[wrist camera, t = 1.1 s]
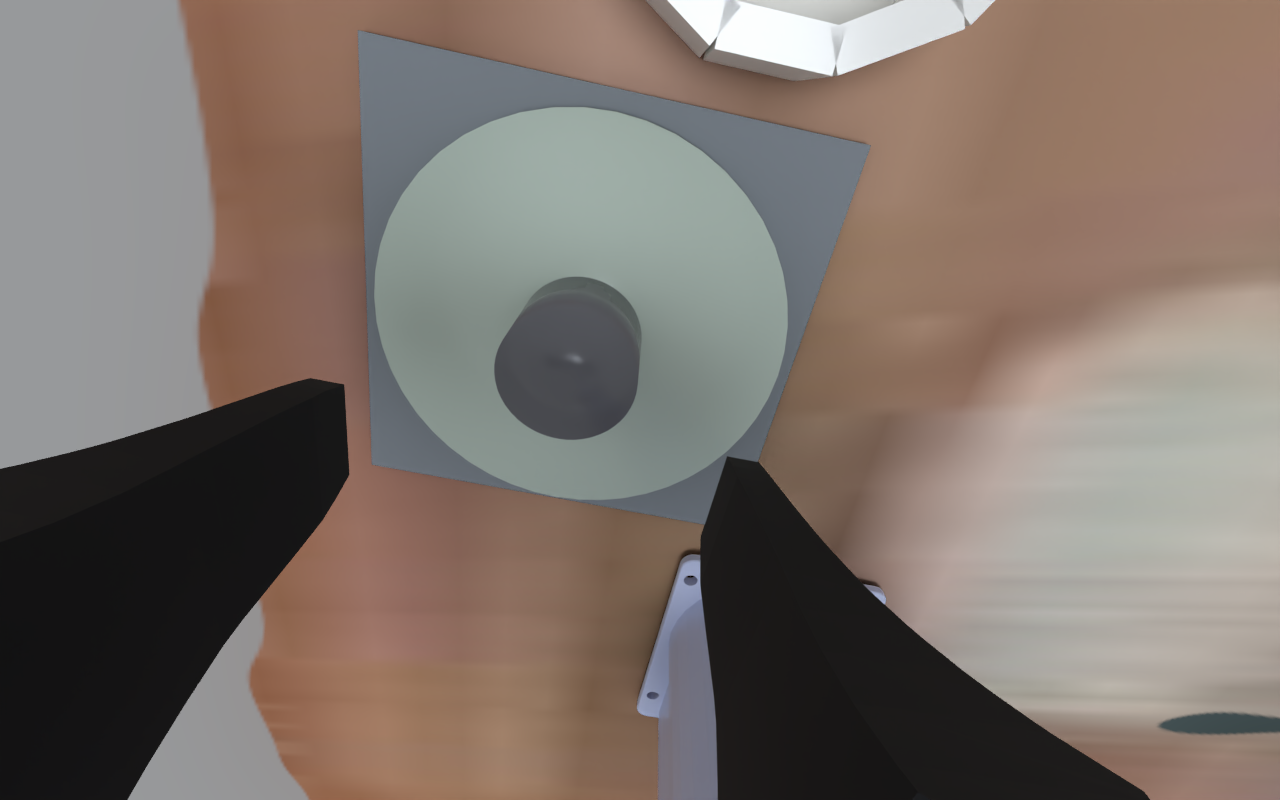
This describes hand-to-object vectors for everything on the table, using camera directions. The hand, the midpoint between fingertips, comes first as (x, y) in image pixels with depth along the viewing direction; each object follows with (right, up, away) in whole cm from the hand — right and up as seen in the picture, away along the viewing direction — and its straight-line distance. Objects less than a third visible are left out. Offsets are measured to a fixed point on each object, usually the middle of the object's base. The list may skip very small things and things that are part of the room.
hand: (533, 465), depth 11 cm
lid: (0, +3, +6) cm, 7 cm away
